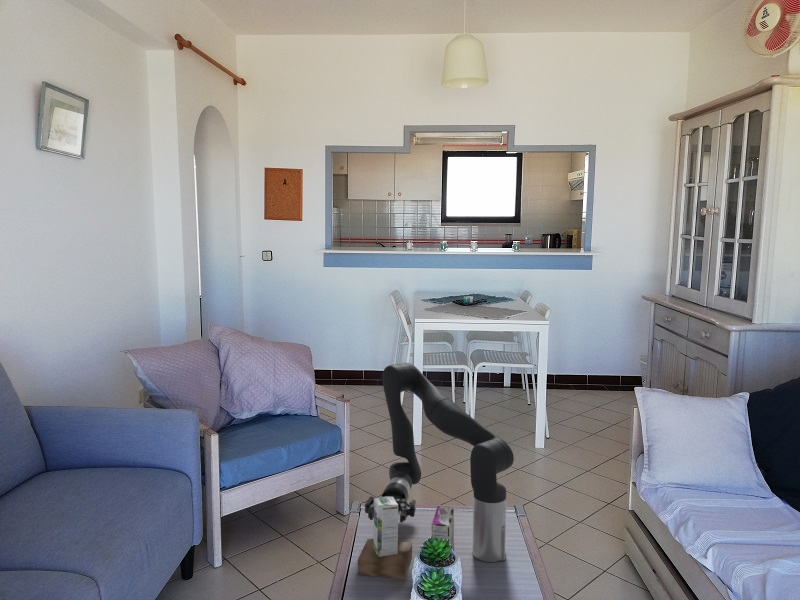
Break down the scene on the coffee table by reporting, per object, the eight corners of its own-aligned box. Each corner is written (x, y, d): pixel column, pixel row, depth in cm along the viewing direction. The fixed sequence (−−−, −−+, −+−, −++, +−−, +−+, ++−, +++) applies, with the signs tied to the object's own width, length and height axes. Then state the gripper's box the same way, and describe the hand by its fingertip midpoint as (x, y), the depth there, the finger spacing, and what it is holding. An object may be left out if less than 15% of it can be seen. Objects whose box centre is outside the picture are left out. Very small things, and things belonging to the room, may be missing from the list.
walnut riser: (412, 556, 176) (412, 542, 176) (405, 579, 164) (405, 564, 164) (367, 551, 178) (367, 538, 178) (357, 574, 167) (357, 560, 166)
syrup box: (372, 547, 173) (372, 497, 172) (393, 544, 175) (393, 495, 173) (377, 557, 168) (377, 506, 166) (398, 554, 169) (399, 503, 168)
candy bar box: (436, 561, 174) (437, 505, 172) (454, 562, 173) (454, 506, 171) (430, 582, 163) (431, 523, 161) (449, 585, 162) (450, 525, 160)
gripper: (373, 480, 187) (360, 503, 171) (419, 483, 185) (411, 507, 169) (373, 504, 188) (360, 528, 172) (419, 507, 185) (411, 533, 170)
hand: (386, 518), depth 170 cm, fingers open, 8 cm apart
